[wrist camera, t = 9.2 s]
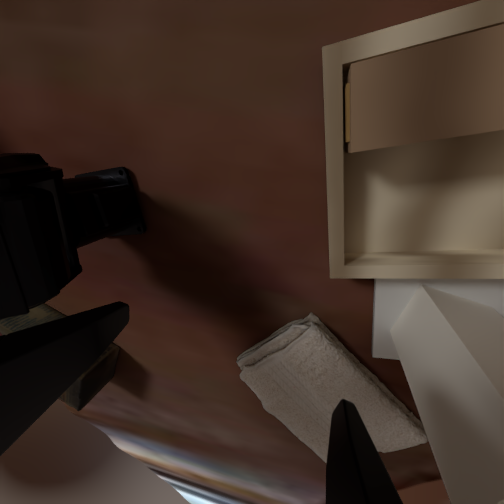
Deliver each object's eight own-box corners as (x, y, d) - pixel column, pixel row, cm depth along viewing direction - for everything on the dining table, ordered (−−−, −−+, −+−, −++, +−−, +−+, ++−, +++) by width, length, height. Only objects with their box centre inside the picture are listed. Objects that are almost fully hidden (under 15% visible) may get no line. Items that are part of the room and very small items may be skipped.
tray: (329, 261, 20) (329, 278, 17) (323, 65, 15) (322, 47, 13) (549, 257, 16) (594, 279, 13) (638, -20, 11) (738, -76, 8)
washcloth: (308, 302, 23) (305, 322, 20) (430, 421, 24) (444, 456, 21) (234, 353, 28) (224, 374, 26) (336, 448, 30) (337, 478, 27)
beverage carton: (16, 283, 35) (-45, 309, 30) (123, 344, 34) (81, 384, 28) (21, 319, 39) (-32, 348, 33) (118, 376, 37) (79, 417, 31)
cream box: (389, 331, 20) (460, 531, 10) (420, 284, 18) (557, 475, 7) (453, 354, 20) (609, 601, 9) (494, 308, 17) (768, 562, 7)
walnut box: (343, 153, 16) (348, 153, 13) (342, 85, 15) (347, 64, 11) (471, 133, 14) (519, 127, 11) (484, 51, 13) (545, 12, 9)
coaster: (371, 352, 22) (372, 357, 22) (375, 266, 19) (376, 269, 19) (491, 363, 20) (496, 369, 19) (518, 265, 16) (525, 268, 16)
